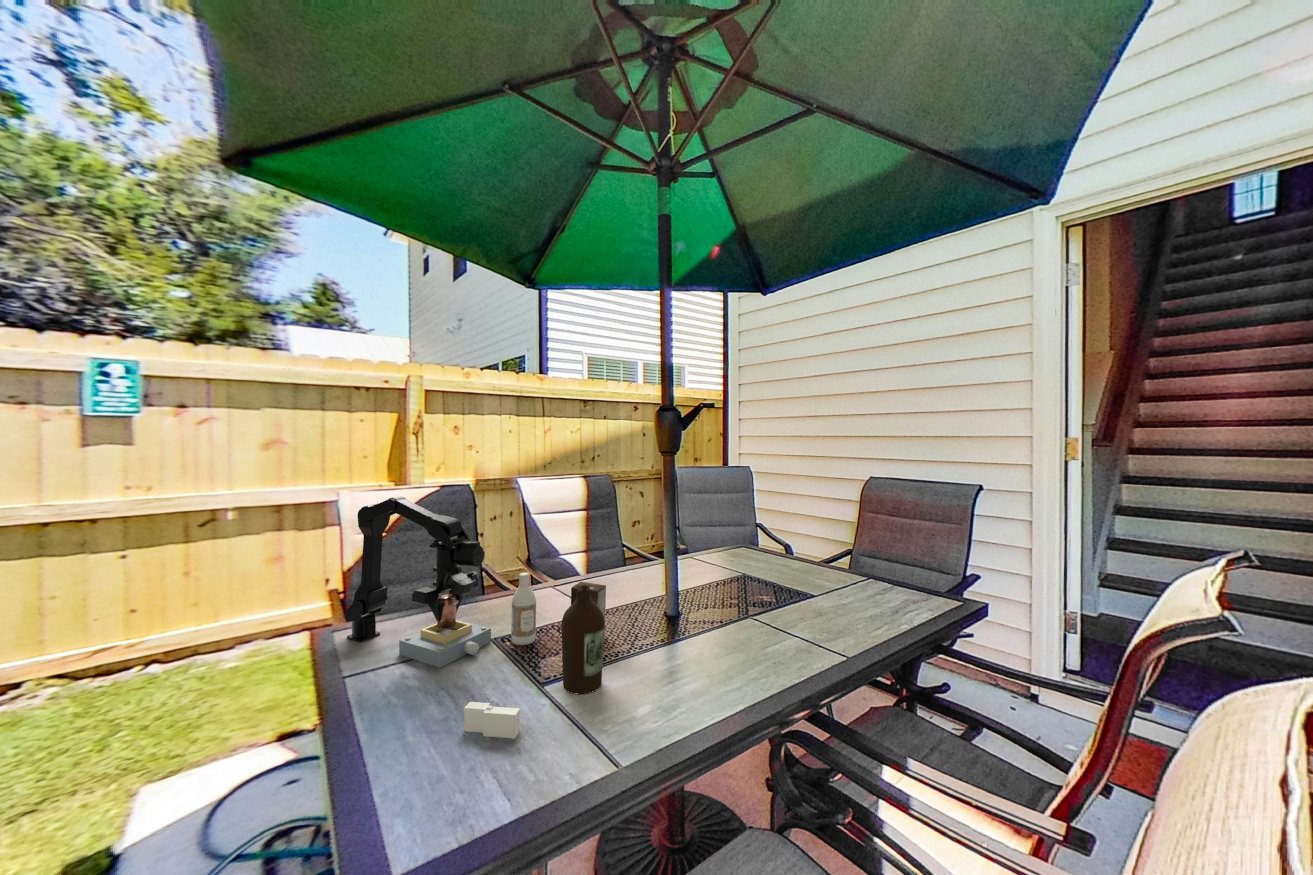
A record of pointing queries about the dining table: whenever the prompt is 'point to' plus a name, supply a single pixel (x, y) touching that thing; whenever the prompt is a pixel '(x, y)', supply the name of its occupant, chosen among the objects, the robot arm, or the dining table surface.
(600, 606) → the coffee box
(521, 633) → the bath foam
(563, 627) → the olive oil
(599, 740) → the dining table surface
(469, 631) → the grey plate with frame
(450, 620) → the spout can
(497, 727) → the white stepped block
